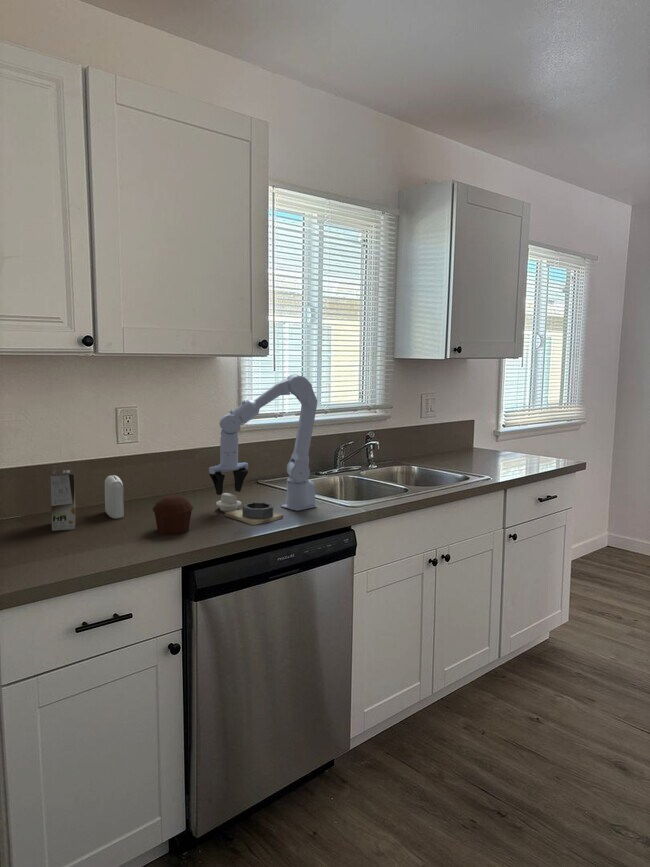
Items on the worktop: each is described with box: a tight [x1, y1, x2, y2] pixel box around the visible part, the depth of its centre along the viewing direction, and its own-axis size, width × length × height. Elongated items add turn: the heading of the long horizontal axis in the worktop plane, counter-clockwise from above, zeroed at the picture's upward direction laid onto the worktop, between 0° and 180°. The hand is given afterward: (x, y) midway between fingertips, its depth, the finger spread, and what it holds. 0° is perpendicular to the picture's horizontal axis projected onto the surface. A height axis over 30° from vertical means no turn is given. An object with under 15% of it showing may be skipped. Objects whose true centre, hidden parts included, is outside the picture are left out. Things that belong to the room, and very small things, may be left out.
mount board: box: [224, 508, 284, 526], centre depth 206 cm, size 12×14×1 cm
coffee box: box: [49, 468, 76, 532], centre depth 190 cm, size 9×6×16 cm
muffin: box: [152, 494, 194, 536], centre depth 189 cm, size 12×11×10 cm
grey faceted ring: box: [242, 501, 274, 519], centre depth 205 cm, size 9×9×3 cm
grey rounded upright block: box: [104, 474, 125, 519], centre depth 204 cm, size 10×4×12 cm, turn 29°
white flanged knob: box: [215, 492, 242, 513], centre depth 215 cm, size 8×8×5 cm
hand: (228, 492), depth 214 cm, fingers open, 7 cm apart
